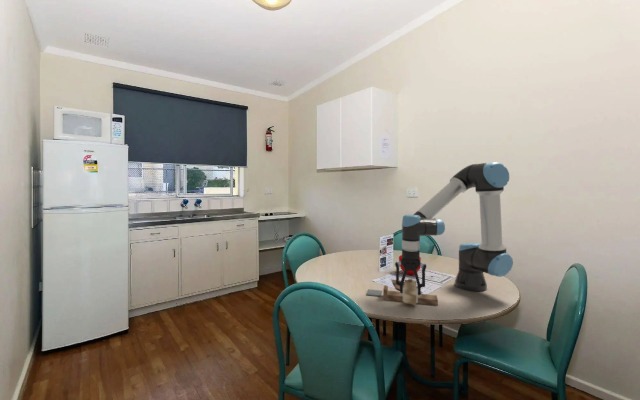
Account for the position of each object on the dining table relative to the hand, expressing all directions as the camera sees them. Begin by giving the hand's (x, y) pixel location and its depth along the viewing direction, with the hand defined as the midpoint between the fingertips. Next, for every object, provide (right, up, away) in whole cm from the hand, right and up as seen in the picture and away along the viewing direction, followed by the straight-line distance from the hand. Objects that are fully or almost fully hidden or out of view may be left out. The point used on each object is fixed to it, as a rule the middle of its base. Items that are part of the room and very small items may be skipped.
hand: (410, 300), depth 130 cm
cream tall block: (0, 0, 0) cm, 0 cm away
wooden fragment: (+4, -2, +24) cm, 24 cm away
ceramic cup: (+15, 0, +47) cm, 49 cm away
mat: (-13, -1, +15) cm, 20 cm away
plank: (+2, -2, +6) cm, 7 cm away
